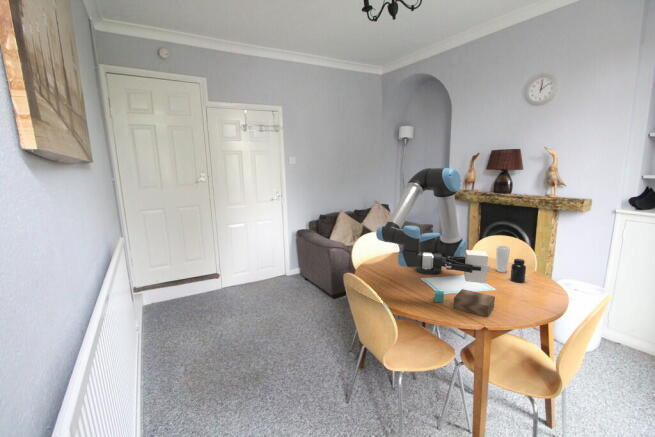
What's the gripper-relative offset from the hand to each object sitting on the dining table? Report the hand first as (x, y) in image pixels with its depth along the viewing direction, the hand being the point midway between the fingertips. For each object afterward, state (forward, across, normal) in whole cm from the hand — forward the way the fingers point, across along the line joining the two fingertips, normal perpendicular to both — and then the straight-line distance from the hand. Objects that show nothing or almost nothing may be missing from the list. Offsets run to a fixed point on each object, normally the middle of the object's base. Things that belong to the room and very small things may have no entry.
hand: (487, 265), depth 133 cm
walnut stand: (-4, 0, -20) cm, 20 cm away
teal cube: (-19, -3, -20) cm, 28 cm away
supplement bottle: (+21, -43, -20) cm, 52 cm away
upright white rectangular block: (-5, 0, -7) cm, 8 cm away
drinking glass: (+16, -58, -20) cm, 63 cm away
